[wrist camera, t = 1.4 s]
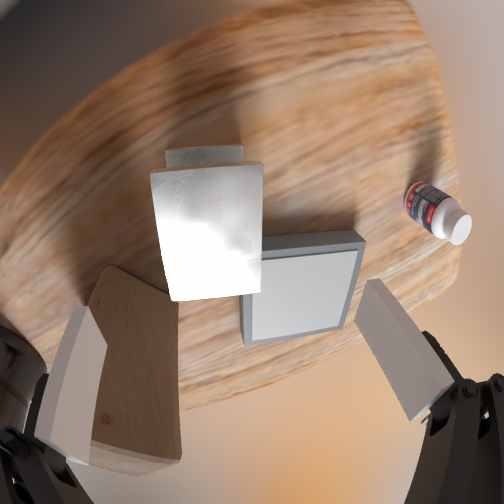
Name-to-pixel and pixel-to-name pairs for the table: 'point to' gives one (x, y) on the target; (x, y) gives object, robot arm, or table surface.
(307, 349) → the table surface
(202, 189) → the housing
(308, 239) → the stand
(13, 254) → the table surface
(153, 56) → the table surface
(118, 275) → the wooden block
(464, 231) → the pill bottle
